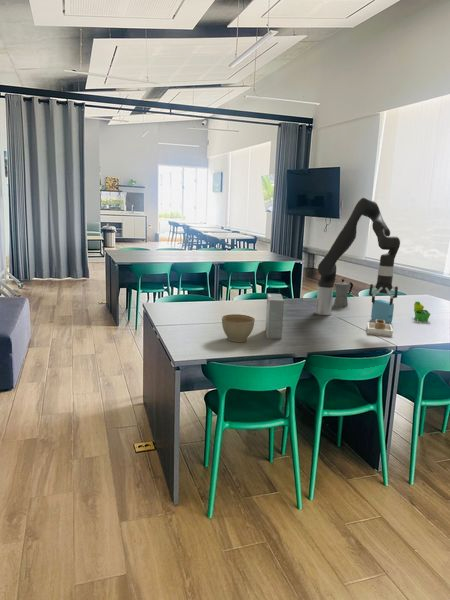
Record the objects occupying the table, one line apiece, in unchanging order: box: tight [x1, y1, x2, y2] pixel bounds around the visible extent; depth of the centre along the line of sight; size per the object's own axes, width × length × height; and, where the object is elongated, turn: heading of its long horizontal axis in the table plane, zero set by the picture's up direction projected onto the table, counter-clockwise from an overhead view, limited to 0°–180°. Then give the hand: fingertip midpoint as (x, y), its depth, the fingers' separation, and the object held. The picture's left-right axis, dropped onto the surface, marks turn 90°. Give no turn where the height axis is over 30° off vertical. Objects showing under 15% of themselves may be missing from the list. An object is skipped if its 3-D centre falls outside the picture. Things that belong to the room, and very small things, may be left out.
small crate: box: [374, 319, 386, 330], centre depth 247 cm, size 5×8×5 cm, turn 164°
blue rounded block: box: [370, 299, 395, 324], centre depth 270 cm, size 12×4×12 cm, turn 32°
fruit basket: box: [413, 300, 431, 323], centre depth 277 cm, size 11×9×11 cm
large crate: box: [366, 321, 394, 337], centre depth 247 cm, size 13×14×3 cm
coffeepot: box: [333, 278, 354, 308], centre depth 308 cm, size 15×9×18 cm, turn 115°
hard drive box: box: [265, 293, 285, 340], centre depth 234 cm, size 16×8×20 cm, turn 178°
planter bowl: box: [221, 313, 256, 343], centre depth 224 cm, size 16×16×11 cm
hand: (381, 304), depth 244 cm, fingers open, 8 cm apart
